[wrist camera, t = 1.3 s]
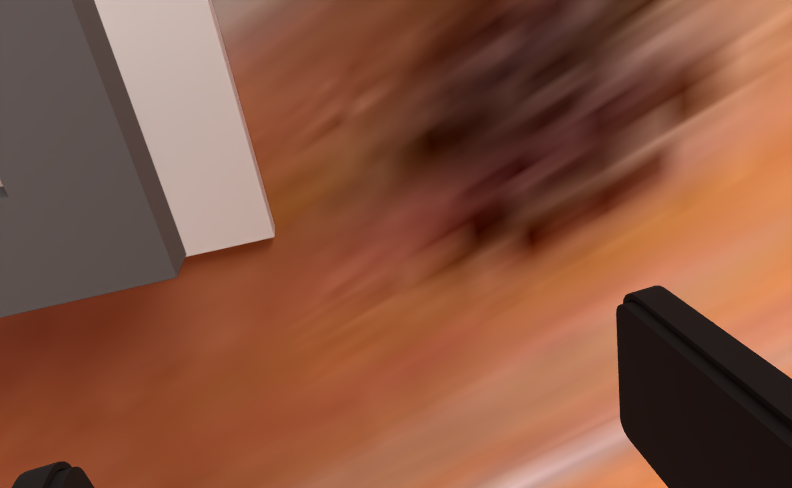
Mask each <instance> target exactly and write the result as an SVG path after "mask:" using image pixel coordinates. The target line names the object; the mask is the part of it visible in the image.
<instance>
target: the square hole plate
mask: <svg viewBox="0 0 792 488" xmlns="http://www.w3.org/2000/svg"><path fill="white" fill-rule="evenodd" d="M0 181H1V183H2V185H3V186H2V187H0V318H1V317H6V316H10V315H14V314H19V313H23V312H28V311H32V310H36V309H41V308H45V307H50V306H54V305H58V304H63V303H67V302H72V301H76V300H81V299H85V298H89V297H94V296H98V295H103V294H107V293H111V292H116V291H120V290H125V289H129V288H133V287H138V286H142V285H147V284H151V283H156V282H160V281H164V280H169V279H173V278H177V276H178V274H179V272H180V269H181V267H182V264H183V262H184V259H185V257H186V251H185V249H184V246H183V243H182V240H181V238H180V235H179V232H178V229H177V227H176V224H175V221H174V218H173V216H172V213H171V210H170V207H169V205H168V202H167V199H166V196H165V194H164V191H163V188H162V185H161V183H160V180H159V177H158V174H157V172H156V169H155V166H154V163H153V161H152V158H151V155H150V152H149V150H148V147H147V144H146V141H145V139H144V136H143V133H142V130H141V128H140V125H139V122H138V119H137V117H136V114H135V111H134V108H133V106H132V103H131V100H130V97H129V95H128V92H127V89H126V86H125V84H124V81H123V78H122V75H121V73H120V70H119V67H118V65H117V62H116V59H115V56H114V54H113V51H112V48H111V45H110V43H109V40H108V37H107V34H106V32H105V29H104V26H103V23H102V21H101V18H100V15H99V12H98V10H97V7H96V4H95V1H94V0H0Z"/></svg>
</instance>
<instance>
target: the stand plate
mask: <svg viewBox="0 0 792 488" xmlns="http://www.w3.org/2000/svg"><path fill="white" fill-rule="evenodd" d="M94 1H95V4H96V7H97V10H98V12H99V15H100V18H101V21H102V23H103V26H104V29H105V32H106V34H107V37H108V40H109V43H110V45H111V48H112V51H113V54H114V56H115V59H116V62H117V65H118V67H119V70H120V73H121V75H122V78H123V81H124V84H125V86H126V89H127V92H128V95H129V97H130V100H131V103H132V106H133V108H134V111H135V114H136V117H137V119H138V122H139V125H140V128H141V130H142V133H143V136H144V139H145V141H146V144H147V147H148V150H149V152H150V155H151V158H152V161H153V163H154V166H155V169H156V172H157V174H158V177H159V180H160V183H161V185H162V188H163V191H164V194H165V196H166V199H167V202H168V205H169V207H170V210H171V213H172V216H173V218H174V221H175V224H176V227H177V229H178V232H179V235H180V238H181V240H182V243H183V246H184V249H185V251H186V257H188V256H192V255H197V254H201V253H206V252H210V251H215V250H219V249H224V248H228V247H232V246H237V245H241V244H246V243H250V242H255V241H259V240H264V239H268V238H273V237H275V225H274V221H273V218H272V214H271V211H270V207H269V203H268V200H267V196H266V193H265V189H264V186H263V182H262V178H261V175H260V171H259V168H258V164H257V161H256V157H255V153H254V150H253V146H252V143H251V139H250V136H249V132H248V128H247V125H246V121H245V118H244V114H243V110H242V107H241V103H240V100H239V96H238V93H237V89H236V85H235V82H234V78H233V75H232V71H231V68H230V64H229V60H228V57H227V53H226V50H225V46H224V43H223V39H222V35H221V32H220V28H219V25H218V21H217V17H216V14H215V10H214V7H213V3H212V0H94ZM2 186H3V185H2V183H1V181H0V187H2Z"/></svg>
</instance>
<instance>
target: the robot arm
mask: <svg viewBox="0 0 792 488" xmlns="http://www.w3.org/2000/svg"><path fill="white" fill-rule="evenodd" d="M616 318H617V346H618V373H619V400H620V420H621V424H622V427H623V429H624V432H625V434H626V435H627V437H628V438H629V440H630V441H631V442H632V444H633V445H634V446H635V447H636V448H637V450H638V451H639V452H640V453H641V455H642V456H643V457H644V458H645V459H646V461H647V462H648V463H649V464H650V466H651V467H652V468H653V469H654V471H655V472H656V473H657V474H658V475H659V477H660V478H661V479H662V480H663V482H664V483H665V484H666V485H667V487H668V488H792V379H791V378H790V377H788V376H787V375H786V374H784V373H783V372H781V371H780V370H779V369H777V368H776V367H774V366H773V365H772V364H770V363H769V362H767V361H766V360H765V359H763V358H762V357H760V356H759V355H758V354H756V353H755V352H753V351H752V350H751V349H749V348H748V347H746V346H745V345H744V344H742V343H741V342H739V341H738V340H737V339H735V338H734V337H732V336H731V335H730V334H728V333H727V332H725V331H724V330H723V329H721V328H720V327H718V326H717V325H716V324H714V323H713V322H711V321H710V320H709V319H707V318H706V317H704V316H703V315H702V314H700V313H699V312H697V311H696V310H695V309H693V308H692V307H690V306H689V305H688V304H686V303H685V302H683V301H682V300H681V299H679V298H678V297H677V296H675V295H674V294H672V293H671V292H670V291H668V290H667V289H665V288H664V287H662V286H653V287H649V288H646V289H642V290H639V291H636V292H632V293H629V294H627V295H625V297H624V299H623V304H621V305H619V306H618V307H617V311H616ZM12 488H94V486H93V485H92V483H91V482H90V480H89V479H88V477H87V475H86V474H85V472H84V471H83V470H82V469H81V468H79V467H71V465H70V464H68V463H66V462H57V463H53V464H50V465H47V466H43V467H40V468H37V469H33V470H30V471H26V472H24V473H23V474H21V475H20V476H19V477H18V478H17V480H16V481H15V483H14V485H13V486H12Z"/></svg>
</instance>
